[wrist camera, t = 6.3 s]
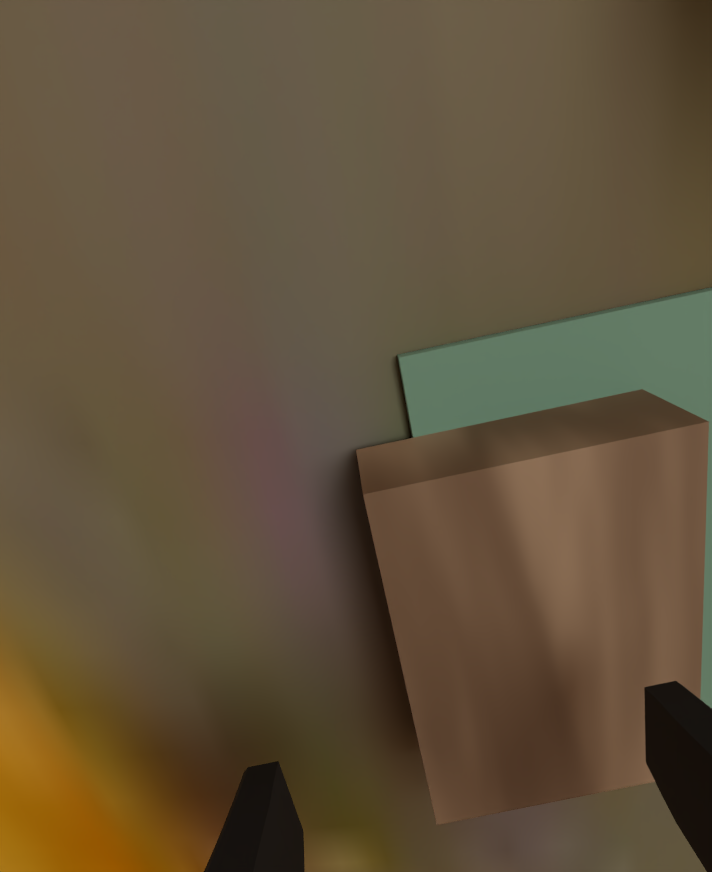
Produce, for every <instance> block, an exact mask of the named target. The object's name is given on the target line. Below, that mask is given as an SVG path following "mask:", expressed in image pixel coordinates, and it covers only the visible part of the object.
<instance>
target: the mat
mask: <svg viewBox="0 0 712 872" xmlns="http://www.w3.org/2000/svg"><path fill="white" fill-rule="evenodd" d="M397 357H398V362H399V368H400V374H401V379H402V385H403V390H404V396H405V401H406V407H407V412H408V418H409V424H410V429H411V435H412V438H414V437H419V436H423V435H428V434H433V433H438V432H442V431H447V430H452V429H456V428H461V427H466V426H471V425H475V424H480V423H485V422H489V421H494V420H499V419H504V418H508V417H513V416H518V415H522V414H527V413H532V412H537V411H541V410H546V409H551V408H555V407H560V406H565V405H570V404H574V403H579V402H584V401H588V400H593V399H598V398H603V397H607V396H612V395H617V394H622V393H626V392H631V391H636V390H640V389H643V390H645V391H647V392H649V393H651V394H654V395H656V396H658V397H660V398H662V399H664V400H666V401H668V402H670V403H672V404H674V405H676V406H678V407H680V408H682V409H684V410H686V411H688V412H690V413H692V414H694V415H696V416H699V417H701V418H703V419H705V420H707V421H709V439H708V471H707V503H706V536H705V568H704V601H703V633H702V665H701V698H700V700H702V701H703V702H704V703H705V704H707V705H708V706H709V707H710V708H712V287H710V288H706V289H701V290H696V291H692V292H687V293H683V294H678V295H673V296H669V297H664V298H659V299H655V300H650V301H645V302H641V303H636V304H631V305H627V306H622V307H617V308H613V309H608V310H603V311H599V312H594V313H589V314H585V315H580V316H576V317H571V318H566V319H562V320H557V321H552V322H548V323H543V324H538V325H534V326H529V327H524V328H520V329H515V330H510V331H506V332H501V333H496V334H492V335H487V336H482V337H478V338H473V339H469V340H464V341H459V342H455V343H450V344H445V345H441V346H436V347H431V348H427V349H422V350H417V351H413V352H408V353H403V354H399V355H397Z"/></svg>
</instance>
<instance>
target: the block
mask: <svg viewBox="0 0 712 872" xmlns="http://www.w3.org/2000/svg"><path fill="white" fill-rule="evenodd" d="M708 439H709V421H707V420H705V419H703V418H701V417H699V416H696V415H694V414H692V413H690V412H688V411H686V410H684V409H682V408H680V407H678V406H676V405H674V404H672V403H670V402H668V401H666V400H664V399H662V398H660V397H658V396H656V395H654V394H651V393H649V392H647V391H645V390H643V389H640V390H636V391H631V392H626V393H622V394H617V395H612V396H607V397H603V398H598V399H593V400H588V401H584V402H579V403H574V404H570V405H565V406H560V407H555V408H551V409H546V410H541V411H537V412H532V413H527V414H522V415H518V416H513V417H508V418H504V419H499V420H494V421H489V422H485V423H480V424H475V425H471V426H466V427H461V428H456V429H452V430H447V431H442V432H438V433H433V434H428V435H423V436H419V437H414V438H409V439H405V440H400V441H395V442H390V443H386V444H381V445H376V446H372V447H367V448H362V449H357V450H356V453H357V459H358V465H359V472H360V478H361V485H362V491H363V497H364V501H365V506H366V510H367V515H368V519H369V524H370V528H371V533H372V537H373V541H374V546H375V550H376V555H377V559H378V564H379V568H380V573H381V577H382V582H383V586H384V591H385V595H386V600H387V604H388V608H389V613H390V617H391V622H392V626H393V631H394V635H395V640H396V644H397V649H398V653H399V658H400V662H401V667H402V671H403V676H404V680H405V684H406V689H407V693H408V698H409V702H410V707H411V711H412V716H413V720H414V725H415V729H416V734H417V738H418V743H419V747H420V752H421V756H422V760H423V765H424V769H425V774H426V778H427V783H428V787H429V792H430V796H431V801H432V805H433V810H434V814H435V819H436V823H437V825H439V824H445V823H450V822H455V821H460V820H465V819H470V818H475V817H480V816H485V815H490V814H495V813H500V812H505V811H510V810H515V809H520V808H525V807H530V806H535V805H540V804H545V803H550V802H555V801H560V800H565V799H570V798H575V797H580V796H585V795H590V794H595V793H600V792H605V791H610V790H615V789H620V788H625V787H630V786H635V785H640V784H645V783H650V782H655V780H654V778H653V776H652V774H651V772H650V770H649V768H648V766H647V764H646V750H645V694H644V687H647V686H652V685H657V684H662V683H667V682H672V681H677V682H678V683H680V684H681V685H683V686H684V687H685V688H687V689H688V690H689V691H690V692H692V693H693V694H694V695H695V696H697V697H698V698H699V699H700V698H701V665H702V633H703V601H704V568H705V536H706V503H707V471H708Z"/></svg>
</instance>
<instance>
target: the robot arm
mask: <svg viewBox="0 0 712 872" xmlns="http://www.w3.org/2000/svg"><path fill="white" fill-rule="evenodd" d="M644 694H645V750H646V764H647V766H648V768H649V770H650V772H651V774H652V776H653V778H654V780H655V782H656V784H657V786H658V788H659V790H660V792H661V794H662V796H663V798H664V800H665V802H666V804H667V806H668V808H669V810H670V811H671V813H672V815H673V817H674V819H675V821H676V823H677V824H678V826H679V828H680V829H681V831H682V833H683V834H684V836H685V837H686V839H687V841H688V842H689V844H690V845H691V847H692V849H693V850H694V852H695V853H696V855H697V856H698V858H699V860H700V861H701V863H702V864H703V866H704V868H705V869H706V871H707V872H712V708H710V707H709V706H708V705H707V704H705V703H704V702H703V701H702V700H700V699H699V698H698V697H697V696H695V695H694V694H693V693H692V692H690V691H689V690H688V689H687V688H685V687H684V686H683V685H681V684H680V683H678V682H677V681H672V682H667V683H662V684H657V685H652V686H647V687H644ZM204 872H304V841H303V829H302V826H301V823H300V821H299V818H298V815H297V812H296V809H295V807H294V804H293V801H292V798H291V795H290V793H289V790H288V787H287V784H286V781H285V779H284V776H283V773H282V770H281V767H280V765H279V762H278V761H277V762H272V763H267V764H262V765H257V766H252V767H248V768H247V769H246V771H245V772H244V774H243V776H242V779H241V782H240V785H239V787H238V790H237V793H236V795H235V798H234V800H233V803H232V806H231V808H230V811H229V813H228V816H227V818H226V821H225V823H224V826H223V828H222V831H221V833H220V836H219V838H218V840H217V843H216V845H215V848H214V850H213V852H212V855H211V857H210V859H209V862H208V864H207V866H206V868H205V871H204Z"/></svg>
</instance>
